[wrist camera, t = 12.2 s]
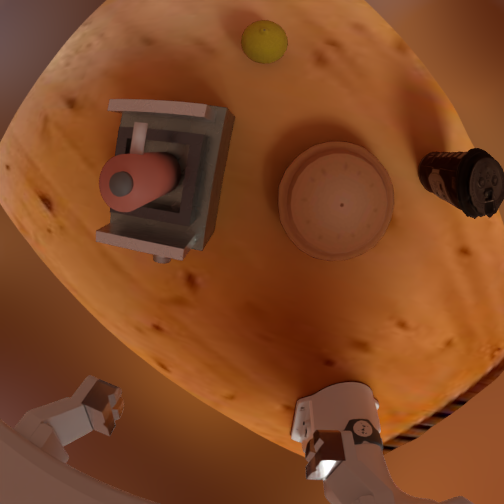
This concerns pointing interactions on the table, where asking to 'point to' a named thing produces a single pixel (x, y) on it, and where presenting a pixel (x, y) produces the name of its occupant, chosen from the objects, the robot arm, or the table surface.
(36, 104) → the table surface
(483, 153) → the coffee cup
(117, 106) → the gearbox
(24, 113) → the table surface
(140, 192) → the pink cylinder with stub
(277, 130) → the table surface
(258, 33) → the lemon
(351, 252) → the pie
